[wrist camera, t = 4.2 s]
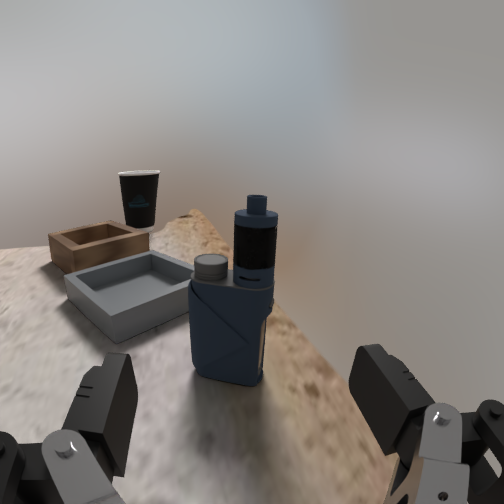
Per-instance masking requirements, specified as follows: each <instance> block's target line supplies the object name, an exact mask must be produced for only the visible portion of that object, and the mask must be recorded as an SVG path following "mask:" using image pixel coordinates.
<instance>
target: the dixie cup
mask: <svg viewBox="0 0 504 504" xmlns="http://www.w3.org/2000/svg"><path fill="white" fill-rule="evenodd" d="M159 173H160V171H155V170H148V171H147V170H146V171H128V172H120V173H118V175H119V177H120V184H121V193H122V200H123V207H124V214H125V220H126V225H127V226H130V227H133V228H136V229H139V230H142V231H146V232H151V231H153V225H154V223H155V210H156V209H155V208H156V197H157V187H158V178H159Z"/></svg>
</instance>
